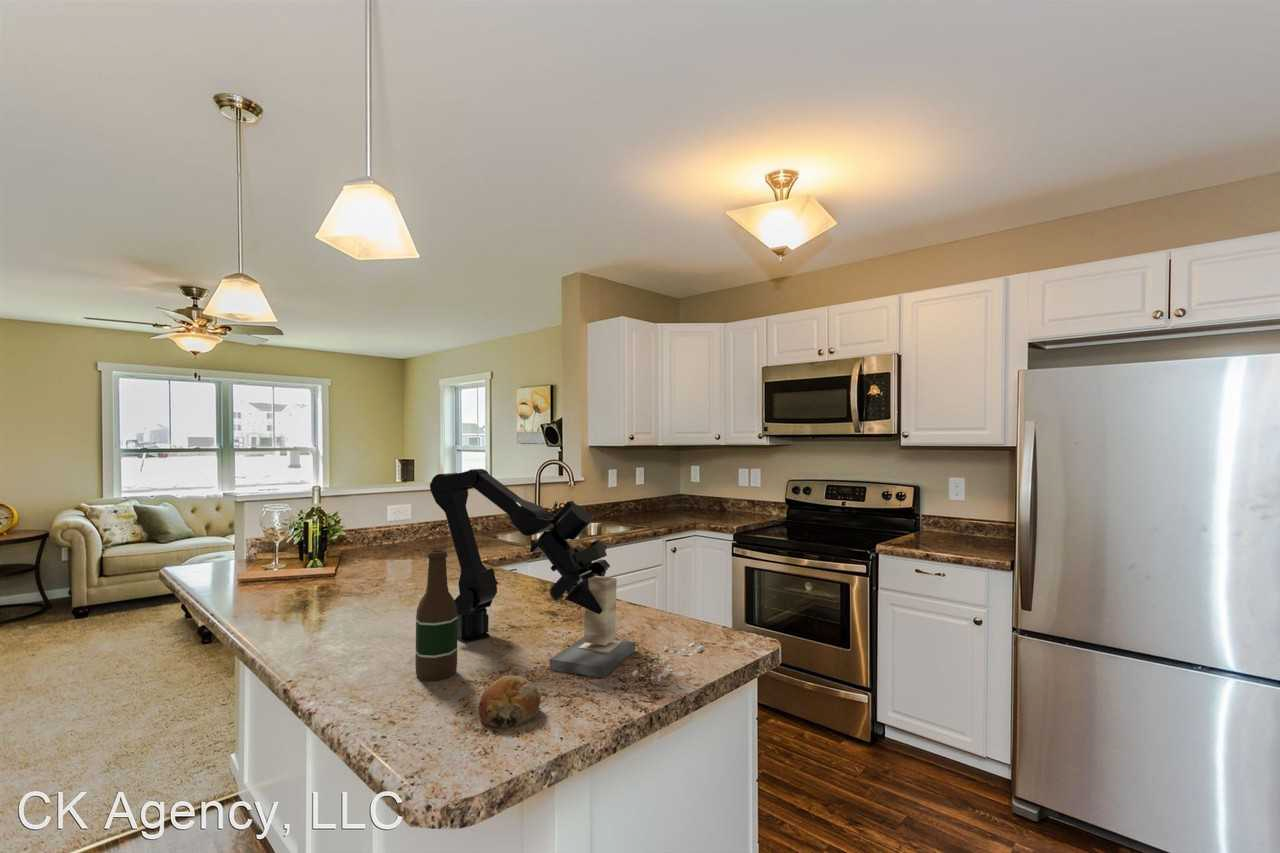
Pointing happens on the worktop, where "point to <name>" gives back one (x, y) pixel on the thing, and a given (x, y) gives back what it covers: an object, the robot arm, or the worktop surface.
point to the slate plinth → (592, 657)
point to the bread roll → (509, 702)
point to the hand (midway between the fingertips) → (606, 609)
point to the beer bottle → (436, 624)
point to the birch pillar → (602, 624)
